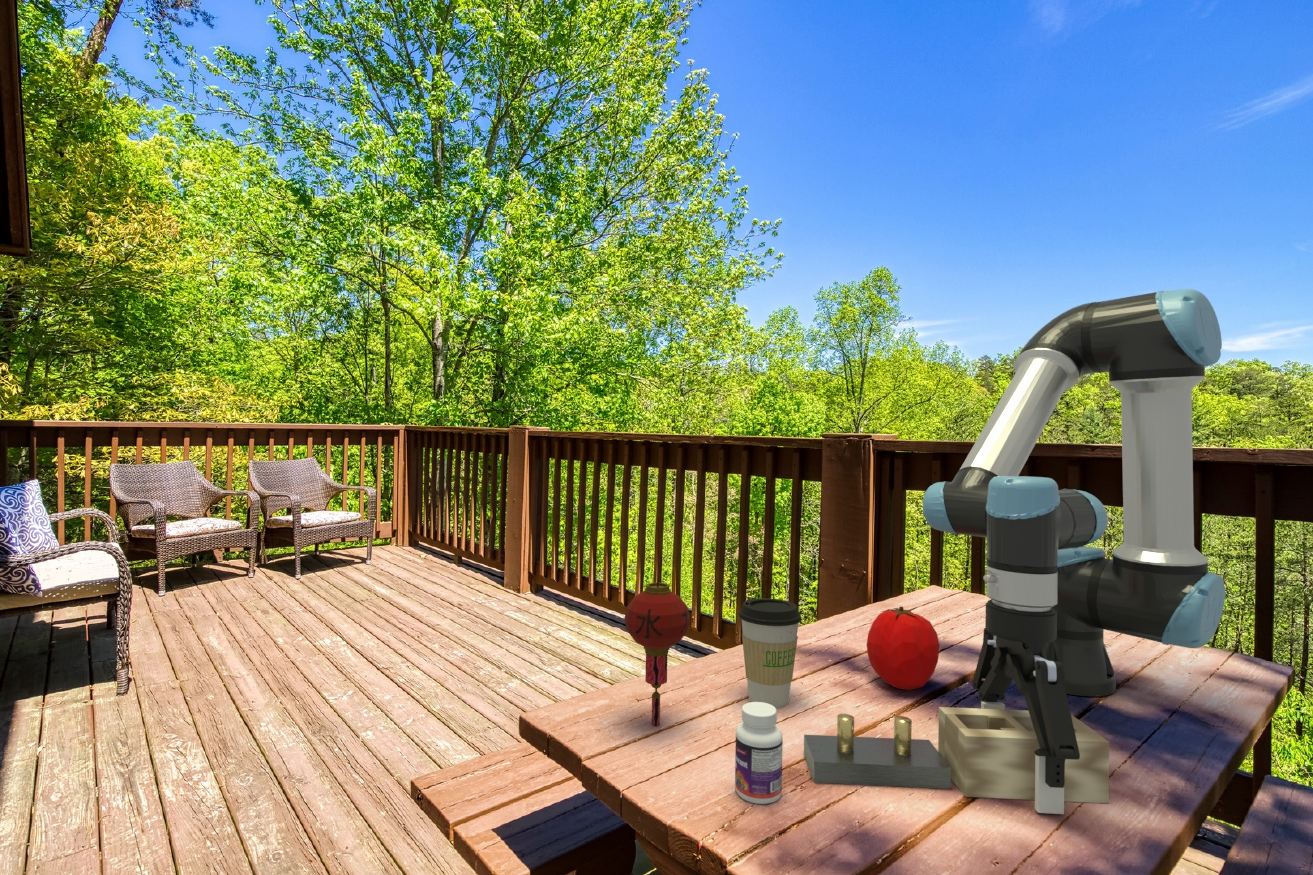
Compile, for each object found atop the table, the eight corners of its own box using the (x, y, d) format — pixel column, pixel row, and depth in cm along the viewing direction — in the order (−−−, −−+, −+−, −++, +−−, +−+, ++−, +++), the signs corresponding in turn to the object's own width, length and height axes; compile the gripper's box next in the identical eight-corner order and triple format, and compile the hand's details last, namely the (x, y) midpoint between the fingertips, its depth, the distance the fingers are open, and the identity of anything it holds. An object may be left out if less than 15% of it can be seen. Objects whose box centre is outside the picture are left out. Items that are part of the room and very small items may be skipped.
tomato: (868, 695, 102) (869, 613, 102) (864, 669, 114) (865, 596, 114) (946, 704, 99) (947, 620, 99) (933, 676, 110) (934, 601, 110)
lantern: (696, 715, 93) (699, 513, 93) (677, 744, 84) (680, 520, 84) (636, 706, 96) (639, 510, 96) (612, 732, 87) (615, 517, 87)
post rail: (928, 759, 81) (929, 708, 81) (950, 788, 74) (951, 733, 74) (803, 753, 82) (804, 703, 82) (814, 782, 75) (814, 728, 75)
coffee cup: (801, 716, 94) (802, 615, 94) (734, 709, 96) (736, 610, 96) (799, 690, 103) (801, 599, 103) (739, 685, 105) (740, 595, 105)
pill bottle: (730, 780, 76) (731, 699, 76) (774, 778, 76) (775, 698, 76) (740, 806, 70) (741, 719, 70) (787, 804, 71) (788, 718, 71)
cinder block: (1067, 767, 80) (1067, 711, 80) (1108, 803, 72) (1109, 741, 72) (938, 761, 81) (938, 706, 81) (965, 796, 73) (965, 735, 73)
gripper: (947, 580, 89) (945, 731, 89) (1045, 633, 64) (1042, 842, 64) (1002, 581, 88) (1000, 733, 88) (1121, 635, 64) (1119, 846, 64)
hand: (1018, 779), depth 76 cm, fingers open, 13 cm apart
